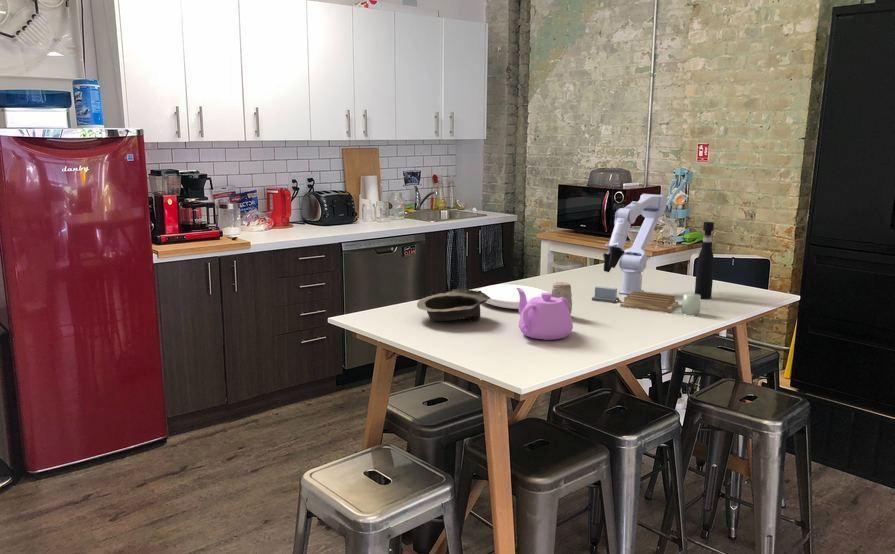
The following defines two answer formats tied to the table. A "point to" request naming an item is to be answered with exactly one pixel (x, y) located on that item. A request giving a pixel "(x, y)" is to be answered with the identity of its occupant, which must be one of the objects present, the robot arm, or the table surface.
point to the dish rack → (650, 301)
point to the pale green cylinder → (691, 304)
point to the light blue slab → (606, 292)
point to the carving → (563, 292)
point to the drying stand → (605, 299)
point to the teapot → (544, 317)
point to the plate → (509, 295)
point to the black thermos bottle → (705, 264)
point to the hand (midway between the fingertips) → (609, 269)
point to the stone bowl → (454, 305)
